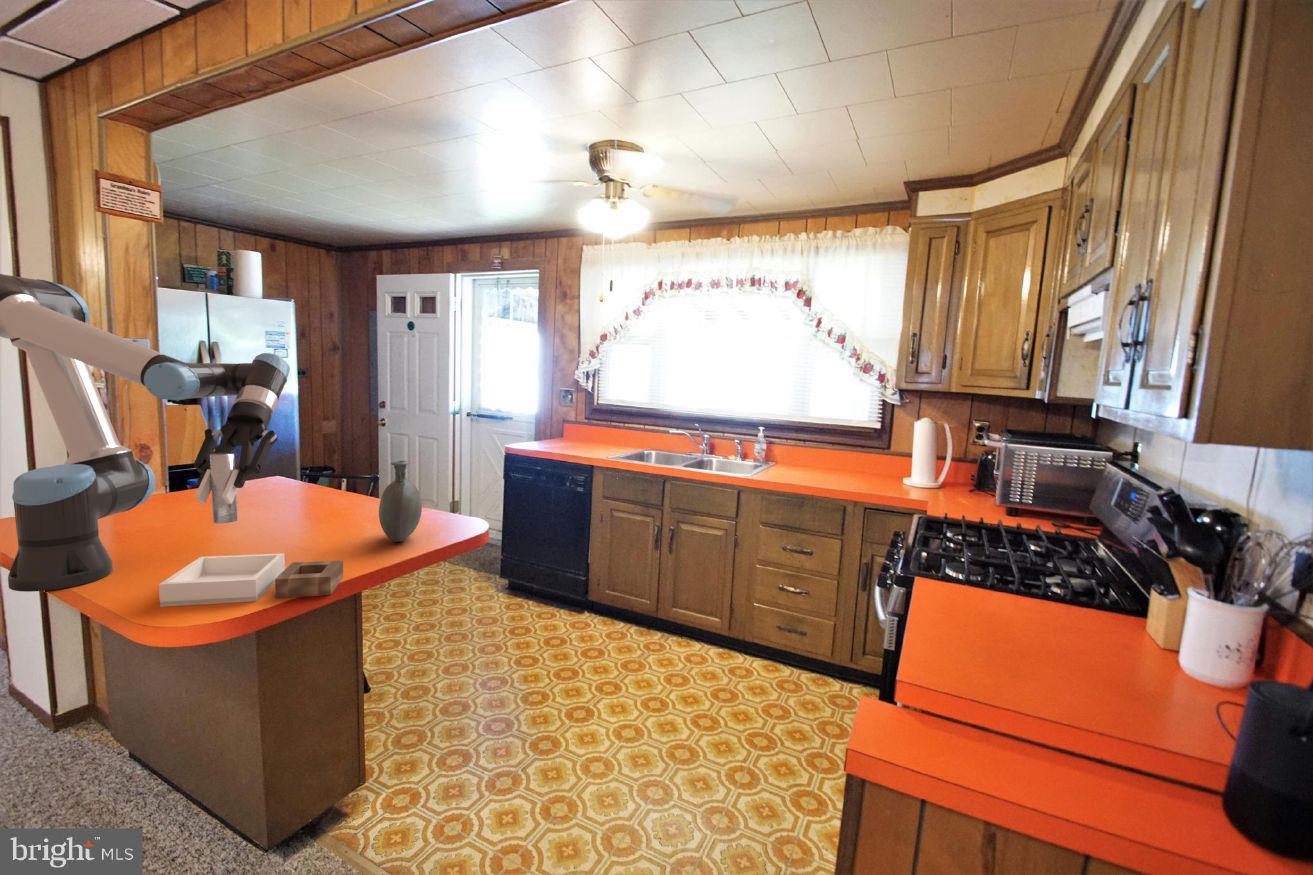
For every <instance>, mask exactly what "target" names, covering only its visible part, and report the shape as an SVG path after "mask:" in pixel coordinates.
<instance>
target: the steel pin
mask: <svg viewBox="0 0 1313 875" xmlns="http://www.w3.org/2000/svg"><path fill="white" fill-rule="evenodd" d="M210 469H211V489H212V490H211V504H212V506H211V507H212V522H213V524H229V523H234V522H237V521H238V501H237V494H236V495H235V497H234V500H233V502H232V504H227V502H226V501H225V500H224V499H223V497H222V495H223V493H224V491H225V488H226V486H227V484H228V481H229V479H230V477H231V474H232V472H233V470H236V456H235V453H234V452H230V453H213V454H210Z"/></svg>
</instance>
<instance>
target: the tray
mask: <svg viewBox="0 0 1313 875" xmlns="http://www.w3.org/2000/svg"><path fill="white" fill-rule="evenodd" d="M285 569H286V560H285V553H267V554H266V553H265V554H264V553H263V554H241V555H240V554H239V555H238V554H237V555H213V556H200V557H198V558H197V559H196V560H194V561H192V562H191V563H189V564H188V565H186V566H184V567H183V568H182V569H180V570H178V571H177V572H176V573H173V574H172V575H171V576H169V577H168V578H165V580H163V581H162V582H160V583H159V584H158V592H159V596H158V597H159V607H160V608H166V607H167V608H168V607H182V606H197V605H198V606H199V605H201V606H202V605H212V604H213V605H214V604H232V603H248V602H257V601H258V600H260V598H262V596H263V595H264V594H265V593H266V592H267V591H268V590H269V589H270V588H271V587H272V586H274V585H275V579H276V578H277V577H278V576H279V575H280V574H281V573H282V572H283V571H284V570H285Z"/></svg>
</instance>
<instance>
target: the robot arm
mask: <svg viewBox="0 0 1313 875" xmlns="http://www.w3.org/2000/svg"><path fill="white" fill-rule="evenodd" d="M90 318H91V314H90V308H89V307H88V304H87V303H86V301H85V300H84V298H82V296H81V295H80V294H79V293H77V292H76V291H75V290H73V289H72V288H70V287H68V286H66V285H63V284H59V283H55V282H52V281H49V280H44V279H39V278H37V279H34V278H29V277H27V278H26V277H22V276H15V275H8V274H3V273H0V337H1V338H4V339H8V340H10V342H11V345H12V346H13V347H15V348H18V349H19V350H22V351H24V352H25V353H26V355H27V358H28V359H29V360H28V361H29V362H30V365H31V367H32V370H33V372H34V375H35V377H36V380H37V382H38V384H39V386H40V389H41V391H42V393H43V396H44V398H45V401H46V403H47V405H48V408H49V410H50V413H51V415H52V417H53V420H54V422H55V425H56V426H57V430H58V432H59V434H60V436H61V439H62V441H63V443H64V445H65V448H66V451H67V453H68V458H67V459H66V460H65V462H64V463H63V464H57V465H53V466H45V467H40V468H36V469H32V470H29V471H26V472H23V473H21V474H19V475H18V476H17V477H16V478H15V479H14V481H13V492H12V496H11V498H12V501H13V507H14V508H13V509H14V516H15V519H14V520H15V527H16V528H15V529H16V534H17V545H18V546H17V548H18V549H17V552H16V554H15V556H14V560H13V562H12V564H11V568H10V569H9V572H8V575H7V583H8V589H9V590H11V591H15V592H27V593H29V592H31V593H32V592H45V591H54V590H59V589H60V590H61V589H66V588H67V589H68V588H72V587H77V586H81V585H85V584H87V583H91V582H95V581H98V580H100V579H103V578H105V577H107V576H109V575H110V574H111V573H112V572H113V560H112V558H111V557H110V554H109V553H108V551H107V549H106V548H105V545H104V544H103V542H102V541H101V538H100V533H99V520H100V519H104V518H106V517H110V516H113V515H117V514H119V513H124V512H127V511H128V512H129V511H131V510H133V509H134V508H136V507H138V506H141V505H143V504H144V503H145V502H147V501H148V500H149V499H150V498H151V496H152V495H153V493H154V491H155V489H156V483H157V482H156V475H155V474H154V471H153V470H152V468H151V467H150V466H149V465H148V464H146V463H144V462H143V461H141V460H138V459H136V458H135V456H134V453H133V451H132V449H130V448H128V447H126V446H123V445H121V444H120V441H119V439H118V437H117V434H116V432H115V429H114V426H113V424H112V422H111V420H110V417H109V415H108V412H107V410H106V406H105V404H104V402H103V399H102V397H101V395H100V391H99V389H98V387H97V384H96V382H95V379H94V376H93V374H92V372H91V369H90V367H89V366H91V367H93V368H97V369H98V370H102V371H104V372H107V373H110V374H112V375H115V376H117V377H120V378H122V379H124V380H127V381H131V382H132V383H133V382H134V383H135V384H139V385H140V386H143V387H145V388H146V390H147V391H148V392H149V393H151V395H152V396H154V397H156V398H158V399H161V400H171V401H181V400H182V401H183V400H188V399H197V398H199V399H200V398H213V397H230V396H231V397H233V396H235V399H234V402H233V405H232V406H231V408H230V410H229V412H228V414H227V416H226V421H225V423H224V424H223V425H222V426H221V427H220V429H215V430H212V429H211V428H207V429H205V430H204V439H203V442H202V444H201V447H200V449H199V451H198V453H197V456H196V457H195V461H193V467H194V468H195V469H196V470H197V472H198V473H199V474H200V475H199V476H198V479H197V481H196V483H197V484H196V485H197V486H198V489H197V491H196V493H195V495H194V498H195V499H196V500H197V501H198V502H199V503H200V504H202V505H205V504H206V503H207V500H208V499H209V496H210V494H211V493H212V489H211V469H210V454H213V453H232V452H233V451H234V450H235V449H236V448H237V447H241V449H240V456H239V463H238V465H237V469H235V470H233V472H232V474H231V477H230V479H229V481H228V484H227V486H226V488H225V491H224V493H223V495H222V497H223V499H224V500H225V501H226V502H227V504H232V502H233V500H234V497H235V495H236V496H237V492H238V491H239V489H242V488H243V487H244V486H245V483H246V481H247V479H248V476H250V475H251V474H255V475H257V474H260V473H261V471H262V470H263V466H264V464H265V462H266V459H267V458H268V455H269V453H270V451H271V448H272V446H274V444H275V443H276V442H277V441H278V440H279V438H278V436H277V434H276V433H275V431H274V430H272V429H271V430H267V429H268V428H269V424H270V422H271V419H272V416H273V414H274V412H275V409H276V407H277V405H278V402H279V398H280V397H281V394H282V392H283V390H284V388H285V385H286V384H287V382H288V377H289V374H290V369H291V368H290V364H289V362H287V361H286V360H285V359H284V358H283V357H281V356H279V355H277V354H275V353H270V352H263V353H260V354H257V355H256V356H255V357H254V358H253V360H252V361H251V362H242V363H241V362H240V363H228V362H227V363H219V362H217V363H215V362H214V363H213V362H201V363H199V362H185V361H182V360H179V359H177V358H174V357H171V356H169V355H166V354H165V353H162V352H159V351H157V350H154V349H152V348H148V347H147V346H145V345H141V344H139V343H136V342H134V341H131V340H129V339H127V338H124V337H122V336H119V335H116V334H114V333H111V332H109V331H106V330H103V329H102V328H100V327H96V326H94V325H92V324H89V323H87V322H88V321H90ZM221 436H222V437H221ZM220 437H221V439H220ZM259 440H260V442H259V444H258V446H257V448H256V450H255V446H256V445H255V444H256V442H258V441H259ZM219 441H220V443H219V444H218V443H217V442H219ZM217 444H218V446H217ZM254 451H255V452H254ZM253 452H254V454H253Z"/></svg>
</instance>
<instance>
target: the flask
mask: <svg viewBox="0 0 1313 875" xmlns="http://www.w3.org/2000/svg"><path fill="white" fill-rule="evenodd" d="M390 465H391V466H393V469H394V473H395V474H394V475H395V478H394V480H393V481H391V482H390V483H389V484H388V485H387V486H386V487H385V489H384V490H383V492H382V494H381V497H380V501H379V505H378V506H379V507H378V518H379V520H378V521H379V523H380V527H381V529H382V531H383V533H384V535H385V536H386V537H387V538H389V539H390V541H393V542H395V543H397V542H403V541H405V540H406V539H408V538H409V537H410V536H411V535H412V534H413V533H414V532H415V530H416V529H417V527H418V525H419V524H420V520H421V517H422V511H423V509H422V508H423V503H422V497H421V493H420V491H419V489H418V488H417V485H415V484H414V482H412V481H410V480H409V479H408V478H406V469H407V466H408V465H410V461H407V460H395V461H393V462H391V463H390Z"/></svg>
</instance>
